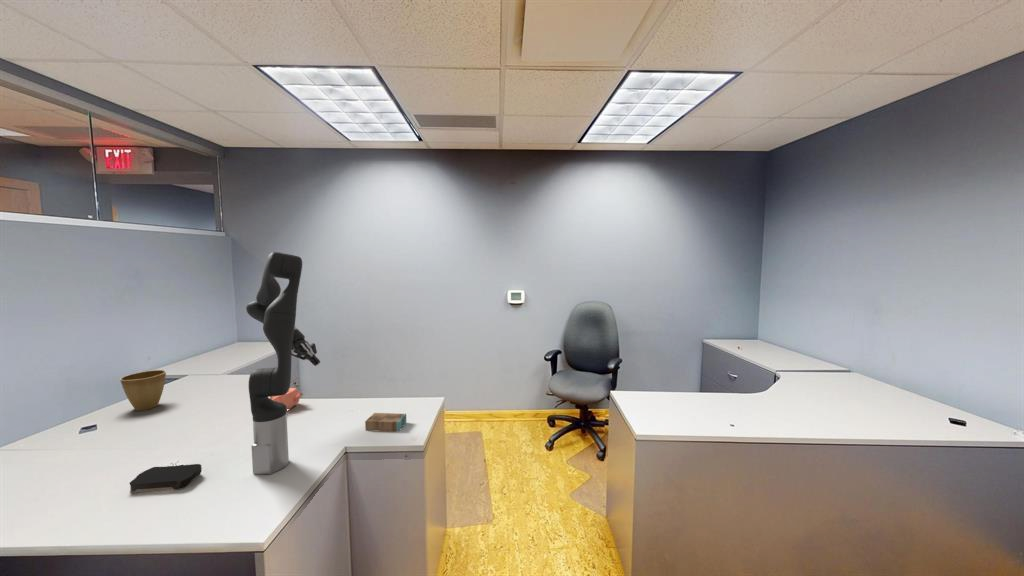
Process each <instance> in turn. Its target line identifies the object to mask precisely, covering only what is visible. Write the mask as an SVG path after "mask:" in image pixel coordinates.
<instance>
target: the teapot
mask: <svg viewBox="0 0 1024 576" xmlns="http://www.w3.org/2000/svg"><path fill="white" fill-rule="evenodd" d="M303 395H304V394H303V392H299V391H298V389H297V388H296V387H289V390H288V392H287V393H286V394H285V395H280V396H271V397H269V398H270V399H271V400H273V401H276V402H280V403H283V404H285V405H286V410H287V409H290V410H291V409H292V408H294V407H293V406H295V405H296V406H297V405H298V404H299V402H300V398H301V397H303Z"/></svg>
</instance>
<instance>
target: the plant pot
mask: <svg viewBox="0 0 1024 576" xmlns="http://www.w3.org/2000/svg"><path fill="white" fill-rule="evenodd" d="M166 375H167V370H165V369H164V370H163V369H153V370H145V371H139V372H136V373H131V374H128V375H124V376H123V377H120V379H119V380H120V383H121V386H122V389H123V391H124V395H125V396H126V398H127V399H128V401H129V403H130V404H131V406H132V407H133V409H134V410H135V411H147V410H151V409H154V408H156V407H157V406H159V403H160V401H161V398H162V394H163V392H164V387H165V383H166Z"/></svg>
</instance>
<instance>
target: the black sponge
mask: <svg viewBox="0 0 1024 576" xmlns="http://www.w3.org/2000/svg"><path fill="white" fill-rule="evenodd" d="M202 469H203V467H202V464H200V463H197V464H196V463H193V464H192V463H191V464H182V465H179V464H178V465H168V466H153V467H150V468H148V469H146V470H144V471H141V472H140V473H138V474H137V475H136V477H135V478H133V480H131V481H130V482H129V486H130V490H129V493H130V494H135V493H146V492H156V491H159V492H161V491H170V490H173V491H174V490H175V491H177V490H182V489H184V488H186V487H187V486H188V485H189V484H191V483H192V481H194V479H196V478H198V477H199V476H200V475H201V474H202Z"/></svg>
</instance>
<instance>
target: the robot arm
mask: <svg viewBox="0 0 1024 576" xmlns="http://www.w3.org/2000/svg"><path fill="white" fill-rule="evenodd" d="M302 271H303V259H302V258H301V257H300V256H298V255H294V254H291V253H290V254H289V253H284V252H279V251H278V252H277V251H273V252H271V253H269V254H268V256H267V258H266V261H265V265H264V268H263V273H262V279H261V282H260V287H259V289H258V291H257V294H256V297H255V299H256V300H254V301H251V302H249V303H247V305H246V308H245V309H246V313H247V314H248V316H249V317H251V318H252V319H254V320H256V321H258V322H259V323H262V324H263V325H262V329H263V330H262V331H263V333H264V336H265V337H266V339H267V340H268V341H269V343H270V345H271V346H272V347H273V350H274V351H275V354H276V356H277V367H265V368H256V369H254V370H252V372H251V373H250V375H249V378H248V396H249V401H250V412H251V416H252V429H253V432H252V433H253V444H251V459H252V460H251V463H252V464H251V465H252V474H255V475H256V474H257V475H272V474H273V473H275V472H278V471H281V470H282V469H283V468H286V467H287V465H289V462H290V458H289V436H288V433H289V432H288V416H287V415H288V413H287V412H288V411H287V410H286V405H285V404H283V403H280V402H276V401H273V400H271V399H270V397H271V396H280V395H285V394H286V393H287V392H288V390H289V388H291V383H292V382H291V381H292V357H295V358H297V359H300V360H302V361H306V360H307V361H309V362H310V363H311V364H312V365H313V366H315V367H316V366H319V364H320V363H321V360H320V359H319V358H318V357H317V356H316V354H317V353H318V351H317V348H316V346H317V345H316V344H315V343H309V341H307V340H306V339H305V335H304V334H303V332H302V331H300V329H298V328H297V327H296V320H297V319H296V318H297V317H296V316H297V302H298V294H299V287H300V282H301V277H302ZM276 278H278V279H285V280H288V284H287V286H286V287H285V288H284V290H283V291H282V290H281V286H280V283H279V282H278V280H277V279H276Z"/></svg>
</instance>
